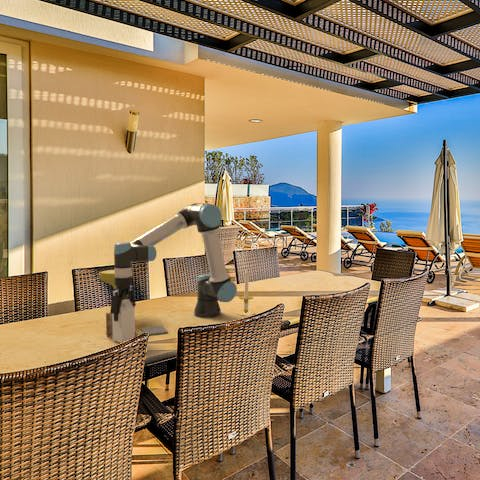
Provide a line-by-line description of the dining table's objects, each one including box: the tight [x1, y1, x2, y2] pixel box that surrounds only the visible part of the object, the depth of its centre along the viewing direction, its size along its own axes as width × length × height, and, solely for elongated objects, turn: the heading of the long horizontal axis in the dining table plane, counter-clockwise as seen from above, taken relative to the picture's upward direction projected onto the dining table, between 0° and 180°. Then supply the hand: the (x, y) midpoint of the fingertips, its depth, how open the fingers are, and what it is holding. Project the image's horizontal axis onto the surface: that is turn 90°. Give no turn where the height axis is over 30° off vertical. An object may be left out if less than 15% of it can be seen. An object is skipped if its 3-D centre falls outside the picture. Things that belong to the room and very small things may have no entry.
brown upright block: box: [105, 312, 113, 338], centre depth 201 cm, size 13×5×11 cm, turn 114°
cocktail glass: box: [98, 267, 134, 290], centre depth 233 cm, size 18×18×25 cm
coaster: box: [140, 324, 169, 336], centre depth 207 cm, size 11×11×1 cm
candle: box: [238, 268, 255, 313], centre depth 240 cm, size 10×10×27 cm
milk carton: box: [112, 299, 136, 344], centre depth 192 cm, size 7×7×19 cm
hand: (123, 324), depth 192 cm, fingers closed on milk carton, 8 cm apart
